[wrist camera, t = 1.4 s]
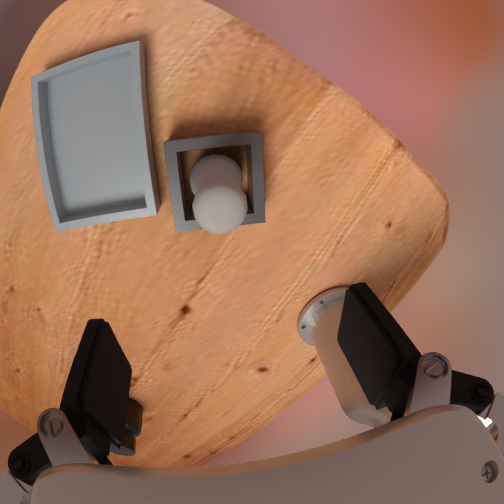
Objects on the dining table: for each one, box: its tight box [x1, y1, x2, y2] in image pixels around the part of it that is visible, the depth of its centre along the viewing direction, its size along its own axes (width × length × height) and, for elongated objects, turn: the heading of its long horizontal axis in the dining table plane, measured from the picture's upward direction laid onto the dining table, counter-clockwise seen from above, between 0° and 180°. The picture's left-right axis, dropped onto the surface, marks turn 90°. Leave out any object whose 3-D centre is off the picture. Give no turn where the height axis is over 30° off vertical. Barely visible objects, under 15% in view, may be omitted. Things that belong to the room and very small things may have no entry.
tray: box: [32, 40, 161, 232], centre depth 25 cm, size 14×20×3 cm
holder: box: [163, 131, 265, 232], centre depth 30 cm, size 10×10×4 cm
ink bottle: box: [110, 399, 143, 456], centre depth 45 cm, size 10×9×12 cm
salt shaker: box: [189, 154, 248, 234], centre depth 26 cm, size 6×6×13 cm
